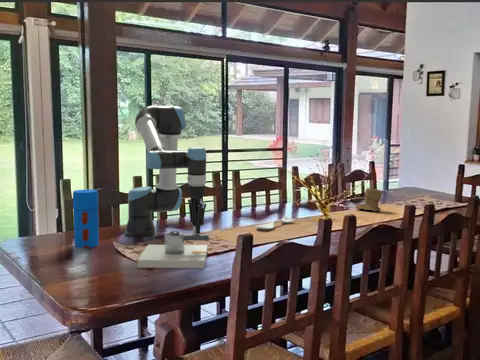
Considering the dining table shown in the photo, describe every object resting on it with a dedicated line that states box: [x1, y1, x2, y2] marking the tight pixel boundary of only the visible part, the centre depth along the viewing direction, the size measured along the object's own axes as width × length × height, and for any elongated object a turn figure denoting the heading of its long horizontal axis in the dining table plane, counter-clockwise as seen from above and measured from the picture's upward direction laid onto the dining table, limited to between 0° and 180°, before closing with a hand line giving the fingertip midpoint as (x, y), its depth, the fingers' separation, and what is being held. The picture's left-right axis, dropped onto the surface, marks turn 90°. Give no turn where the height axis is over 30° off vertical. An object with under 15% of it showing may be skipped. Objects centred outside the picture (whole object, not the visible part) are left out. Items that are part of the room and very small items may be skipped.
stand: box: [137, 244, 209, 269], centre depth 204 cm, size 26×24×3 cm
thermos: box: [72, 189, 100, 249], centre depth 224 cm, size 11×11×25 cm
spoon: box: [255, 215, 298, 231], centre depth 270 cm, size 9×32×4 cm, turn 142°
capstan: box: [164, 230, 209, 254], centre depth 204 cm, size 18×8×8 cm, turn 97°
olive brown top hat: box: [354, 187, 383, 212], centre depth 320 cm, size 15×12×15 cm
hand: (196, 240), depth 206 cm, fingers closed
